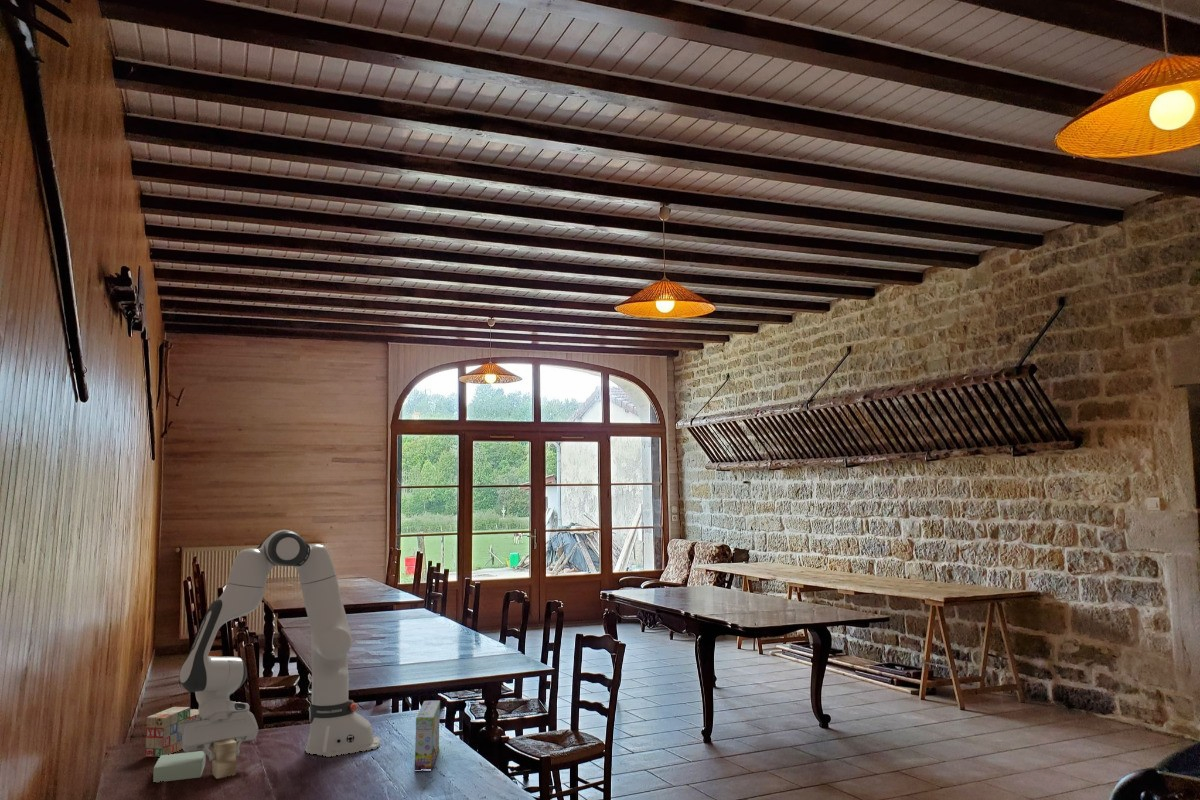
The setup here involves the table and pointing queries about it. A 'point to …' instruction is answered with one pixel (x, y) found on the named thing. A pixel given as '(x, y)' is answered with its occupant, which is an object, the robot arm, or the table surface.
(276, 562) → the robot arm
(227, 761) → the maple block
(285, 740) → the table surface
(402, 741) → the table surface
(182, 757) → the plinth
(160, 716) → the stack of blocks
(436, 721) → the snack box
